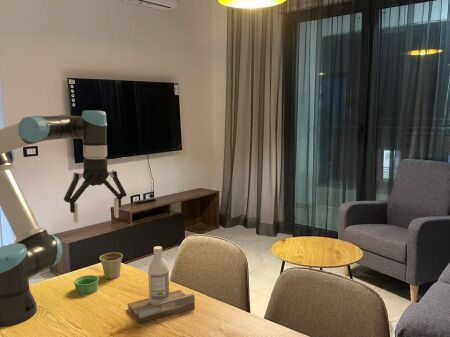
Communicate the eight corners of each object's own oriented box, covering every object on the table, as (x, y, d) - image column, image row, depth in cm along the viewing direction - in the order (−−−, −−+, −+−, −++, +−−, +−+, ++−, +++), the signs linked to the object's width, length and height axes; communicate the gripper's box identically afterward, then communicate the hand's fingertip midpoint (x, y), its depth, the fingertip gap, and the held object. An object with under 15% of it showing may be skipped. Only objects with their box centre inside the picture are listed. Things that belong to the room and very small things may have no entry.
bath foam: (172, 303, 138) (171, 248, 136) (154, 308, 135) (152, 252, 132) (164, 295, 144) (162, 242, 141) (146, 300, 140) (144, 246, 137)
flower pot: (111, 282, 160) (110, 262, 159) (95, 277, 165) (94, 258, 164) (128, 274, 168) (127, 255, 167) (112, 270, 173) (111, 251, 172)
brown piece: (128, 308, 139) (127, 295, 138) (180, 294, 149) (179, 282, 148) (140, 324, 128) (139, 310, 128) (195, 308, 139) (194, 295, 138)
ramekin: (70, 290, 153) (69, 280, 153) (91, 283, 160) (91, 273, 159) (81, 298, 147) (81, 286, 147) (103, 290, 154) (103, 279, 153)
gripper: (128, 154, 141) (128, 212, 144) (52, 157, 128) (55, 221, 131) (135, 157, 135) (135, 217, 138) (57, 160, 122) (59, 227, 125)
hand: (96, 219), depth 135 cm, fingers open, 13 cm apart
